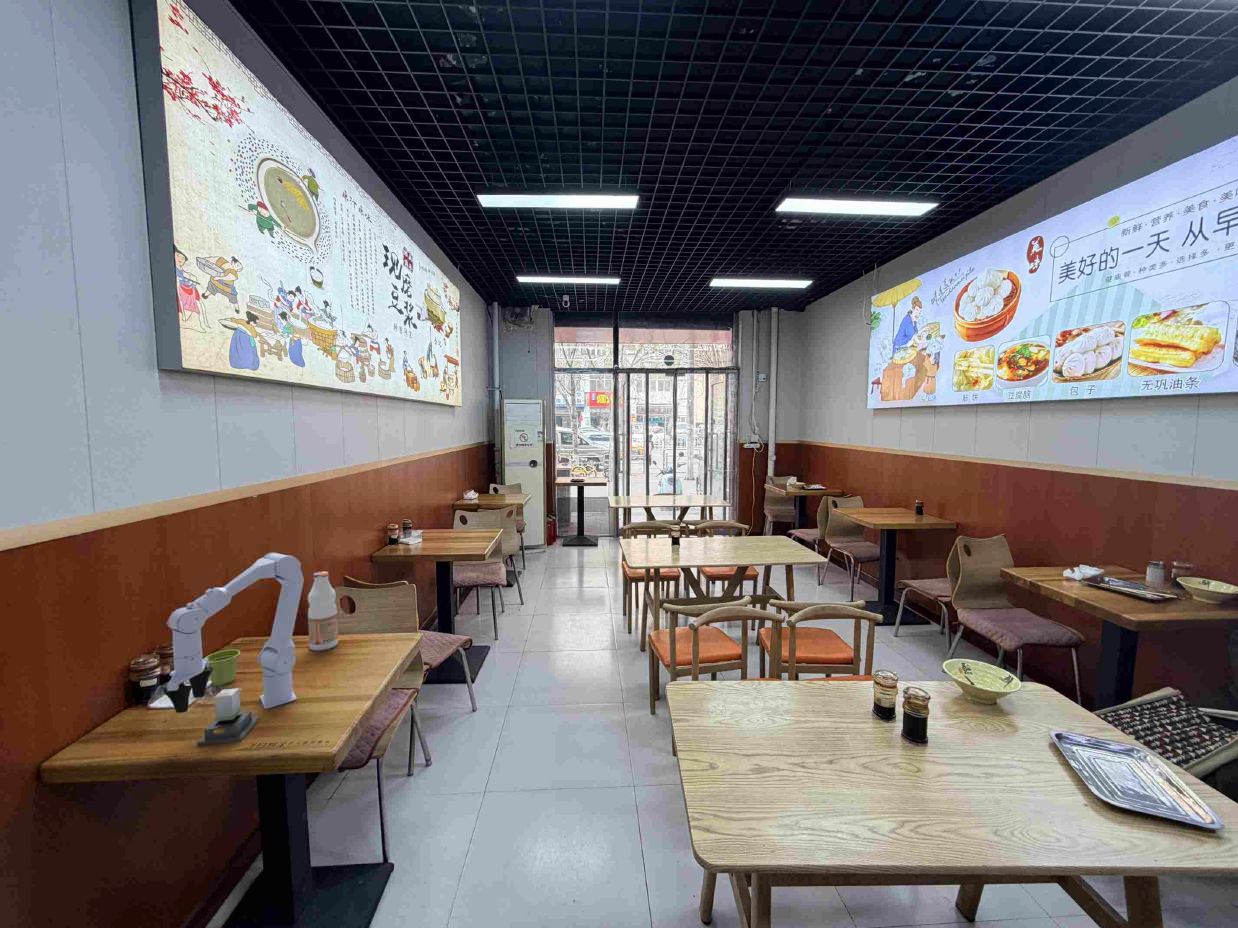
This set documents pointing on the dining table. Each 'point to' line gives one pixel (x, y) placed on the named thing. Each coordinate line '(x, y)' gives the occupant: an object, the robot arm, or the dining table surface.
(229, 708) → the post
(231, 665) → the plant pot
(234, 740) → the stand base
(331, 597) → the fruit juice
